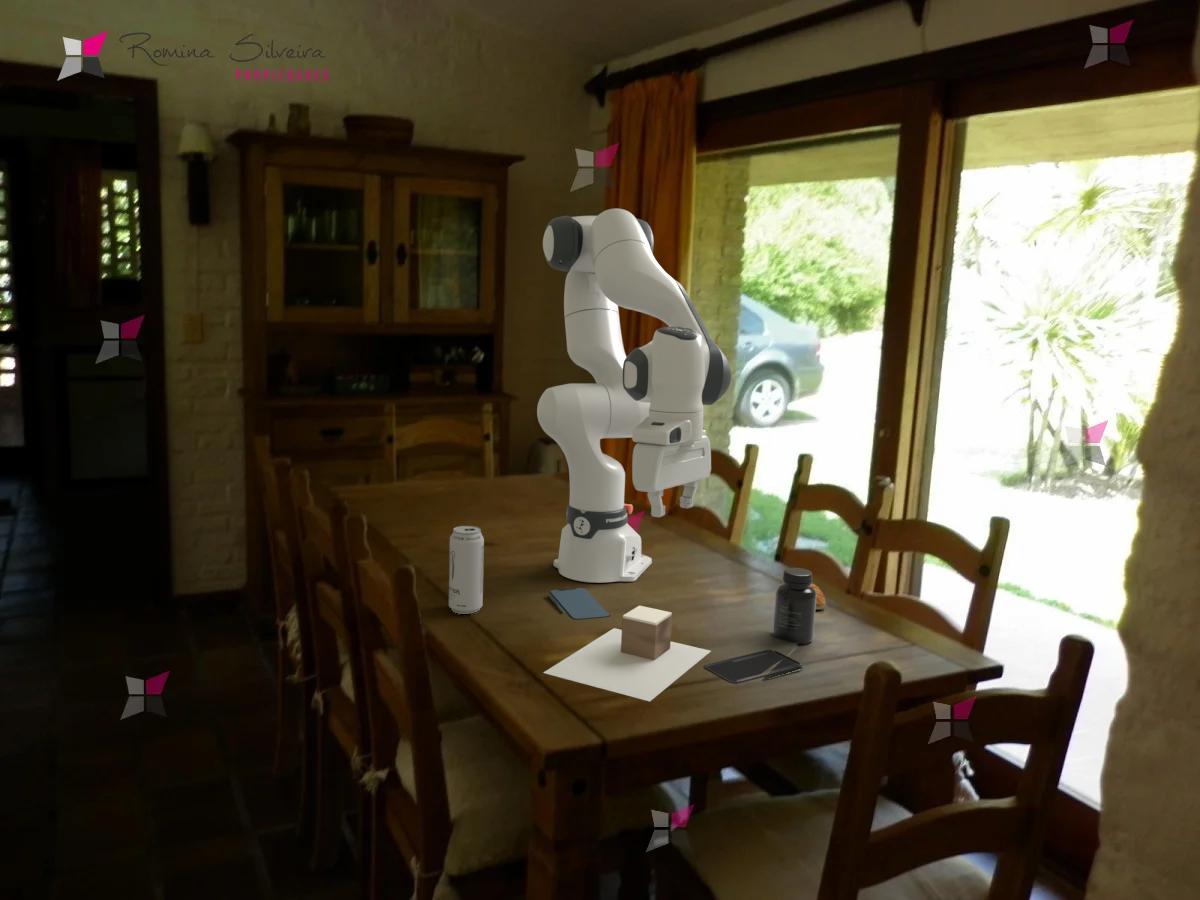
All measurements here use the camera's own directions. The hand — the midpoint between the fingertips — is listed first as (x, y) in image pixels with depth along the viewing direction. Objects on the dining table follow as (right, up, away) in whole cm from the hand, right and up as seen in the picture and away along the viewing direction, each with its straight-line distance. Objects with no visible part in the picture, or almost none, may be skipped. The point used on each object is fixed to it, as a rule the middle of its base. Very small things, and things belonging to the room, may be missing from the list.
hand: (672, 511), depth 161 cm
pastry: (+28, -20, +28) cm, 44 cm away
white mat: (-7, -24, -6) cm, 26 cm away
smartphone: (-16, -20, +19) cm, 32 cm away
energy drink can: (-36, -19, +15) cm, 44 cm away
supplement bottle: (+21, -23, +8) cm, 32 cm away
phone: (+12, -25, -6) cm, 29 cm away
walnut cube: (-4, -22, -2) cm, 23 cm away
